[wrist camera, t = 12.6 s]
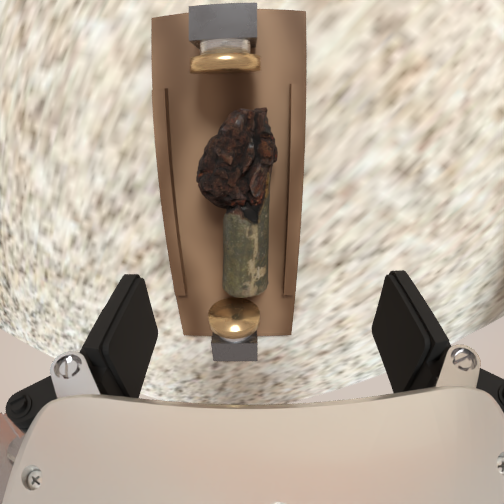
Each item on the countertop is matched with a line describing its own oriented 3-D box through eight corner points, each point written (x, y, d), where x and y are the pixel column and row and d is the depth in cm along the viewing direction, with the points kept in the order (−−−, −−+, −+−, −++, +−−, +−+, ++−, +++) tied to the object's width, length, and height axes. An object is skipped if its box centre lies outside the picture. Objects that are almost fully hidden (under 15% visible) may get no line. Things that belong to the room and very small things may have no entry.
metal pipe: (267, 273, 34) (269, 306, 29) (206, 272, 34) (199, 304, 29) (277, 108, 26) (282, 111, 21) (202, 106, 25) (190, 110, 21)
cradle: (303, 15, 22) (308, 8, 20) (290, 327, 40) (292, 341, 38) (156, 21, 22) (147, 15, 20) (185, 327, 40) (182, 341, 38)
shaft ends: (259, 18, 21) (261, 0, 16) (258, 330, 38) (259, 364, 33) (196, 21, 21) (183, 5, 16) (214, 330, 38) (210, 364, 33)
